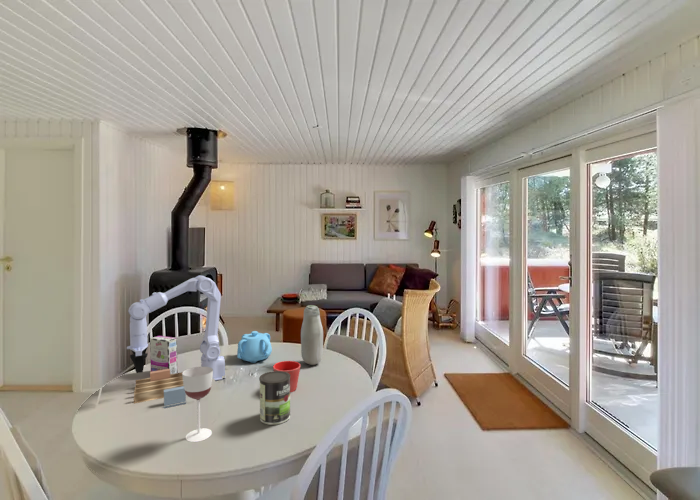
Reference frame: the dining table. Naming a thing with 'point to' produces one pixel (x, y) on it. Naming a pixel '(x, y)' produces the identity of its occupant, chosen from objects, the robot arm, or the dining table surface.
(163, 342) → the candy bar box
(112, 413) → the dining table surface
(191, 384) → the wineglass
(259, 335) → the decorative pot
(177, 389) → the slate plate
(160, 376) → the salmon pink block
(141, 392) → the dish rack
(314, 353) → the grey bottle
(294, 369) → the flower pot
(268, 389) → the coffee can
